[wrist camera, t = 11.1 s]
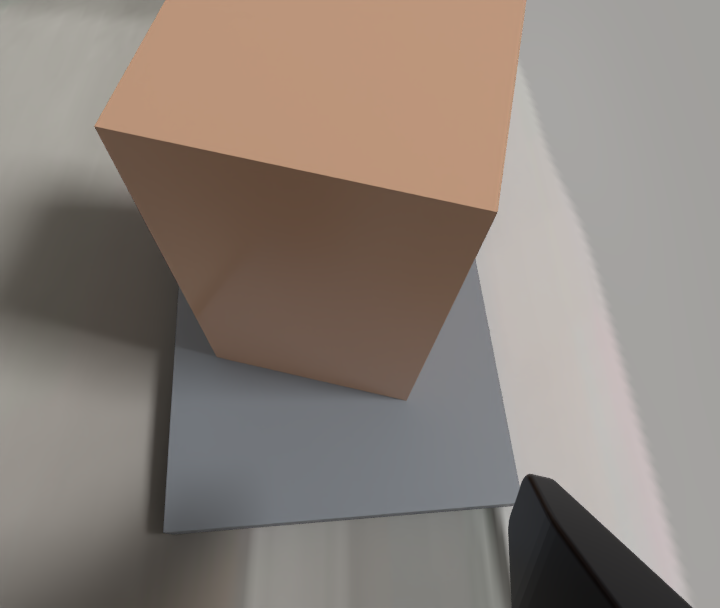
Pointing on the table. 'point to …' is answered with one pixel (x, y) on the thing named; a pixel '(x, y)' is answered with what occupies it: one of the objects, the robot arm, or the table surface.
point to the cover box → (319, 171)
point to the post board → (336, 436)
